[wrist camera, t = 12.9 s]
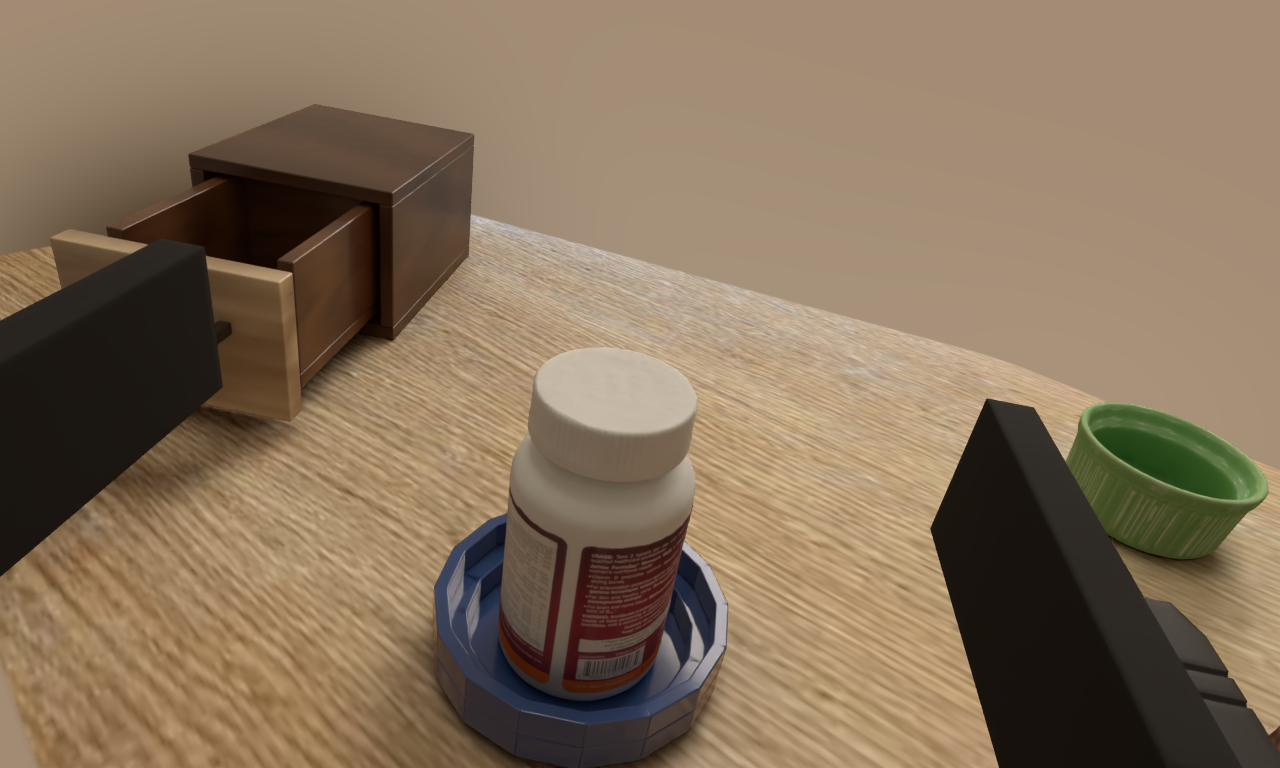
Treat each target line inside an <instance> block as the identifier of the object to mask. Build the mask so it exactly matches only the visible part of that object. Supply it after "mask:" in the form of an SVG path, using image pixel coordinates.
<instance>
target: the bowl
mask: <svg viewBox="0 0 1280 768" xmlns="http://www.w3.org/2000/svg"><path fill="white" fill-rule="evenodd" d="M506 525H507V514H504V515H501V516H498V517H495V518H492V519H490V520H488V521H487V522H485V523H484V524H483V525H482V526H480V527H479V528H478V529H477V530H475V531H474V532H473V533H472V534H470V535H469V536H468V537H467V538H465V539H464V540H463V541H462V542H460V543H459V544H458V545H456V546H455V547H454V548H453V550H452V552H451V554H450V556H449V558H448V560H447V562H446V564H445V566H444V568H443V570H442V572H441V574H440V576H439V578H438V580H437V582H436V584H435V586H434V605H433V644H434V660H435V675H436V678H437V680H438V682H439V683H440V685H441V686H442V688H443V690H444V691H445V693H446V694H447V696H448V698H449V699H450V701H451V703H452V704H453V706H454V707H455V709H456V711H457V712H458V714H459V715H460V717H461V719H462V720H463V721H464V722H465V723H466V724H467V725H469V726H470V727H472V728H473V729H475V730H476V731H478V732H479V733H481V734H482V735H484V736H485V737H487V738H488V739H490V740H491V741H493V742H494V743H496V744H497V745H499V746H500V747H502V748H503V749H505V750H506V751H508V752H509V753H511V754H512V755H515V756H516V757H520V758H525V759H529V760H534V761H539V762H543V763H548V764H553V765H557V766H562V767H566V768H592V767H599V766H605V765H612V764H618V763H625V762H631V761H638V760H639V759H643V758H644V757H646V756H648V755H649V754H651V753H653V752H654V751H656V750H657V749H659V748H661V747H662V746H664V745H666V744H667V743H669V742H670V741H672V740H674V739H675V738H677V737H679V736H680V735H682V734H684V733H685V732H687V730H688V729H690V727H691V726H692V724H693V723H694V721H695V719H696V718H697V716H698V715H699V713H700V711H701V710H702V708H703V707H704V705H705V703H706V702H707V700H708V699H709V697H710V695H711V694H712V692H713V690H714V687H715V684H716V680H717V677H718V674H719V670H720V667H721V664H722V661H723V657H724V654H725V651H726V647H727V625H728V603H727V601H726V599H725V597H724V594H723V592H722V590H721V588H720V586H719V584H718V582H717V579H716V577H715V575H714V573H713V571H712V569H711V566H710V565H709V564H708V563H707V562H706V561H705V560H704V559H703V558H702V557H701V556H700V555H699V554H698V553H697V552H696V551H695V550H694V549H693V548H692V547H690V546H689V545H688V544H687V543H686V542H685V541H684V543H683V548H682V552H681V556H680V561H679V565H678V569H677V574H676V578H675V583H674V588H673V591H672V596H671V601H670V606H669V610H668V614H667V619H666V623H665V627H664V632H663V635H662V640H661V644H660V648H659V651H658V654H657V657H656V659H655V661H654V663H653V665H652V667H651V668H650V670H649V671H648V672H647V674H646V675H645V676H644V677H643V678H642V679H641V680H640V681H638V682H637V683H636V684H635V685H633V686H632V687H630V688H629V689H627V690H625V691H623V692H621V693H619V694H616V695H614V696H611V697H607V698H603V699H599V700H593V701H574V700H567V699H563V698H559V697H555V696H552V695H549V694H547V693H545V692H543V691H541V690H539V689H537V688H535V687H533V686H531V685H530V684H528V683H527V682H526V681H524V680H523V679H522V678H521V677H520V676H519V675H518V674H517V673H516V672H515V671H514V670H513V668H512V667H511V666H510V664H509V663H508V661H507V660H506V658H505V656H504V654H503V651H502V648H501V645H500V640H499V632H498V623H499V606H500V594H501V585H502V574H503V562H504V549H505V537H506Z"/></svg>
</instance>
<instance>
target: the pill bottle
mask: <svg viewBox="0 0 1280 768" xmlns="http://www.w3.org/2000/svg"><path fill="white" fill-rule="evenodd" d="M696 411H697V396H696V393H695V390H694V388H693V386H692V385H691V383H690V382H689V381H688V379H687V378H686V377H685V376H684V375H682V374H681V373H680V372H679V371H678V370H676V369H675V368H673V367H672V366H670V365H668V364H667V363H665V362H663V361H661V360H658V359H656V358H654V357H651V356H648V355H645V354H642V353H638V352H634V351H629V350H624V349H617V348H599V347H595V348H582V349H576V350H571V351H568V352H564V353H561V354H559V355H556V356H554V357H552V358H551V359H549V360H548V361H546V362H545V363H544V364H543V365H542V366H541V367H540V368H539V370H538V371H537V373H536V375H535V378H534V384H533V392H532V400H531V407H530V411H529V420H528V430H529V434H528V435H527V436H526V437H525V438H524V439H523V440H522V442H521V443H520V445H519V447H518V448H517V450H516V452H515V455H514V458H513V462H512V467H511V474H510V487H509V500H508V513H507V525H506V537H505V549H504V562H503V574H502V585H501V594H500V606H499V623H498V632H499V640H500V645H501V648H502V651H503V654H504V656H505V658H506V660H507V661H508V663H509V664H510V666H511V667H512V668H513V670H514V671H515V672H516V673H517V674H518V675H519V676H520V677H521V678H522V679H523V680H524V681H526V682H527V683H528V684H530V685H531V686H533V687H535V688H537V689H539V690H541V691H543V692H545V693H547V694H549V695H552V696H555V697H559V698H563V699H567V700H574V701H593V700H599V699H603V698H607V697H611V696H614V695H616V694H619V693H621V692H623V691H625V690H627V689H629V688H630V687H632V686H633V685H635V684H636V683H637V682H638V681H640V680H641V679H642V678H643V677H644V676H645V675H646V674H647V672H648V671H649V670H650V668H651V667H652V665H653V663H654V661H655V659H656V657H657V654H658V651H659V648H660V644H661V640H662V635H663V632H664V627H665V623H666V619H667V614H668V610H669V606H670V601H671V596H672V591H673V588H674V583H675V578H676V574H677V569H678V565H679V561H680V556H681V552H682V548H683V543H684V539H685V535H686V530H687V527H688V523H689V521H690V515H691V511H692V507H693V500H694V495H695V485H696V484H695V474H694V470H693V467H692V464H691V461H690V459H689V457H688V455H687V453H688V450H689V446H690V442H691V438H692V430H693V425H694V421H695V416H696Z"/></svg>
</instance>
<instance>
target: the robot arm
mask: <svg viewBox="0 0 1280 768" xmlns="http://www.w3.org/2000/svg"><path fill="white" fill-rule="evenodd" d="M221 388H223V384H222V376H221V368H220V361H219V353H218V345H217V338H216V330H215V322H214V315H213V307H212V299H211V292H210V284H209V276H208V269H207V261H206V253H205V247H202V246H197V245H192V244H187V243H182V242H176V241H171V240H166V239H159V240H157V241H155V242H153V243H151V244H149V245H147V246H145V247H143V248H141V249H139V250H137V251H135V252H133V253H131V254H129V255H128V256H126V257H124V258H122V259H120V260H118V261H116V262H114V263H112V264H110V265H108V266H106V267H104V268H102V269H100V270H98V271H96V272H94V273H92V274H91V275H89V276H87V277H85V278H83V279H81V280H79V281H77V282H75V283H73V284H71V285H69V286H67V287H65V288H63V289H61V290H59V291H57V292H55V293H53V294H52V295H50V296H48V297H46V298H44V299H42V300H40V301H38V302H36V303H34V304H32V305H30V306H28V307H26V308H24V309H22V310H20V311H18V312H16V313H15V314H13V315H11V316H9V317H7V318H5V319H3V320H1V321H0V577H1V576H2V575H3V574H4V573H5V572H6V571H8V570H9V569H10V568H11V567H12V566H13V565H15V564H16V563H17V562H18V561H19V560H20V559H22V558H23V557H24V556H25V555H26V554H28V553H29V552H30V551H31V550H32V549H33V548H35V547H36V546H37V545H38V544H39V543H40V542H42V541H43V540H44V539H45V538H46V537H48V536H49V535H50V534H51V533H52V532H53V531H55V530H56V529H57V528H58V527H59V526H60V525H62V524H63V523H64V522H65V521H66V520H67V519H69V518H70V517H71V516H72V515H73V514H75V513H76V512H77V511H78V510H79V509H80V508H82V507H83V506H84V505H85V504H86V503H87V502H89V501H90V500H91V499H92V498H93V497H95V496H96V495H97V494H98V493H99V492H100V491H102V490H103V489H104V488H105V487H106V486H107V485H109V484H110V483H111V482H112V481H113V480H114V479H116V478H117V477H118V476H119V475H120V474H122V473H123V472H124V471H125V470H126V469H127V468H129V467H130V466H131V465H132V464H133V463H134V462H136V461H137V460H138V459H139V458H140V457H142V456H143V455H144V454H145V453H146V452H147V451H149V450H150V449H151V448H152V447H153V446H154V445H156V444H157V443H158V442H159V441H160V440H161V439H163V438H164V437H165V436H166V435H167V434H169V433H170V432H171V431H172V430H173V429H174V428H176V427H177V426H178V425H179V424H180V423H181V422H183V421H184V420H185V419H186V418H187V417H189V416H190V415H191V414H192V413H193V412H194V411H196V410H197V409H198V408H199V407H200V406H201V405H203V404H204V403H205V402H206V401H207V400H208V399H210V398H211V397H212V396H213V395H214V394H216V393H217V392H218V391H219V390H220V389H221ZM930 529H931V533H932V536H933V540H934V543H935V547H936V550H937V554H938V557H939V561H940V564H941V568H942V571H943V575H944V578H945V581H946V585H947V588H948V592H949V595H950V599H951V602H952V606H953V609H954V613H955V616H956V620H957V623H958V627H959V630H960V634H961V637H962V640H963V644H964V647H965V651H966V654H967V658H968V661H969V665H970V668H971V672H972V675H973V679H974V682H975V686H976V689H977V693H978V696H979V699H980V703H981V706H982V710H983V713H984V717H985V720H986V724H987V727H988V731H989V734H990V738H991V741H992V745H993V748H994V752H995V755H996V758H997V762H998V765H999V768H1280V752H1279V750H1278V749H1277V747H1276V746H1275V744H1274V743H1273V741H1272V739H1271V738H1270V736H1269V735H1268V733H1267V732H1266V730H1265V728H1264V727H1263V725H1262V724H1261V722H1260V721H1259V719H1258V717H1257V716H1256V714H1255V713H1254V711H1253V710H1252V709H1249V708H1247V706H1246V703H1247V700H1246V699H1245V697H1244V695H1243V694H1242V692H1241V691H1240V689H1239V688H1238V686H1237V684H1236V683H1235V681H1234V680H1233V679H1231V678H1228V670H1227V669H1226V667H1225V665H1224V664H1223V662H1222V661H1221V659H1220V658H1219V656H1218V654H1217V653H1216V651H1215V650H1214V648H1213V647H1212V645H1211V643H1210V642H1209V640H1208V639H1207V637H1206V636H1205V635H1204V634H1203V633H1202V632H1201V631H1200V630H1199V629H1198V628H1197V627H1196V626H1195V625H1193V624H1192V623H1191V622H1190V621H1189V620H1188V619H1187V618H1186V617H1185V616H1184V615H1183V614H1182V613H1181V612H1180V611H1179V610H1178V609H1177V608H1176V607H1175V606H1173V605H1172V604H1171V603H1169V602H1164V601H1159V600H1154V599H1149V598H1144V597H1143V595H1142V593H1141V591H1140V590H1139V588H1138V586H1137V585H1136V583H1135V581H1134V579H1133V578H1132V576H1131V574H1130V572H1129V571H1128V569H1127V567H1126V566H1125V564H1124V562H1123V560H1122V559H1121V557H1120V555H1119V553H1118V552H1117V550H1116V548H1115V547H1114V545H1113V543H1112V541H1111V540H1110V538H1109V536H1108V534H1107V533H1106V531H1105V529H1104V528H1103V526H1102V524H1101V522H1100V521H1099V519H1098V517H1097V515H1096V514H1095V512H1094V510H1093V509H1092V507H1091V505H1090V503H1089V502H1088V500H1087V498H1086V496H1085V495H1084V493H1083V491H1082V490H1081V488H1080V486H1079V484H1078V483H1077V481H1076V479H1075V478H1074V476H1073V474H1072V472H1071V471H1070V469H1069V467H1068V465H1067V464H1066V462H1065V460H1064V459H1063V457H1062V455H1061V453H1060V452H1059V450H1058V448H1057V446H1056V445H1055V443H1054V441H1053V440H1052V438H1051V436H1050V434H1049V433H1048V431H1047V429H1046V427H1045V426H1044V424H1043V422H1042V421H1041V419H1040V417H1039V415H1038V414H1037V412H1036V410H1035V408H1033V407H1028V406H1023V405H1018V404H1013V403H1008V402H1002V401H997V400H992V399H986V401H985V403H984V406H983V408H982V410H981V413H980V415H979V417H978V420H977V422H976V424H975V426H974V429H973V431H972V433H971V436H970V438H969V440H968V443H967V445H966V447H965V450H964V452H963V454H962V457H961V459H960V461H959V463H958V466H957V468H956V470H955V473H954V475H953V477H952V480H951V482H950V484H949V487H948V489H947V491H946V494H945V496H944V498H943V500H942V503H941V505H940V507H939V510H938V512H937V514H936V517H935V519H934V521H933V524H932V526H931V528H930Z"/></svg>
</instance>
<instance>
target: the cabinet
mask: <svg viewBox="0 0 1280 768" xmlns="http://www.w3.org/2000/svg"><path fill="white" fill-rule="evenodd" d="M473 145H474V134H471V133H465V132H460V131H455V130H449V129H444V128H438V127H433V126H427V125H423V124H418V123H412V122H407V121H402V120H396V119H391V118H386V117H380V116H375V115H370V114H364V113H359V112H353V111H349V110H343V109H337V108H333V107H327V106H322V105H316V104H314V105H312V106H309V107H306V108H304V109H301V110H299V111H296V112H294V113H291V114H289V115H286V116H284V117H281V118H278V119H276V120H273V121H271V122H269V123H266V124H263V125H261V126H258V127H256V128H253V129H251V130H248V131H245V132H243V133H240V134H238V135H235V136H233V137H230V138H228V139H225V140H223V141H220V142H218V143H215V144H212V145H210V146H207V147H205V148H203V149H200V150H197V151H195V152H192V153H190V154H189V164H190V167H191V168H190V172H191V180H192V187H194V186H197V185H199V184H201V183H203V182H205V181H207V180H210V179H212V178H214V177H216V176H218V175H221V174H227V175H232V176H237V177H242V178H248V179H253V180H258V181H263V182H268V183H274V184H279V185H284V186H289V187H294V188H300V189H305V190H310V191H315V192H320V193H326V194H331V195H336V196H341V197H346V198H352V199H357V200H362V201H367V202H372V203H378V204H380V205H379V225H380V303H381V309H380V310H379V311H378V312H377V313H376V314H375V315H374V316H373V317H372V318H371V319H370V320H369V321H368V322H367V323H366V324H365V325H364V326H363V327H362V328H361V329H360V330H359V331H358V332H357V333H362V334H367V335H372V336H377V337H382V338H387V339H394V338H395V337H396V336H397V335H398V333H399V332H400V331H401V330H402V329H403V328H404V327H405V326H406V325H407V323H408V322H409V321H410V320H411V319H412V318H413V317H414V316H415V314H416V313H417V312H418V311H419V310H420V309H421V308H422V307H423V305H424V304H425V303H426V302H427V301H428V300H429V299H430V298H431V296H432V295H433V294H434V293H435V292H436V291H437V290H438V289H439V288H440V286H441V285H442V284H443V283H444V282H445V281H446V280H447V279H448V277H449V276H450V275H451V274H452V273H453V272H454V271H455V270H456V268H457V267H458V266H459V265H460V264H461V263H462V262H463V261H464V259H465V258H466V257H467V256H468V255H469V237H470V216H471V194H472V172H473V151H474V146H473Z"/></svg>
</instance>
